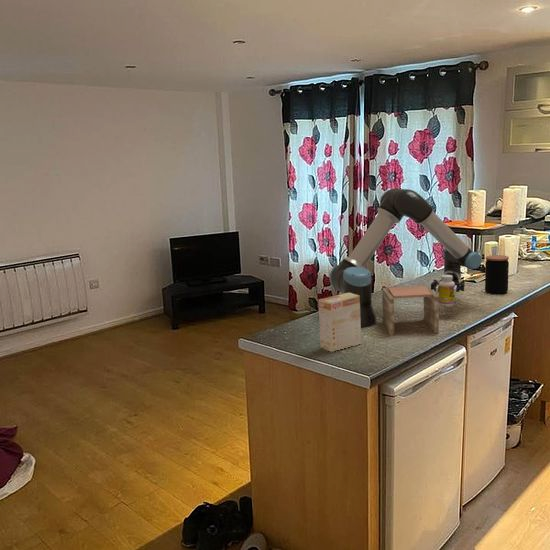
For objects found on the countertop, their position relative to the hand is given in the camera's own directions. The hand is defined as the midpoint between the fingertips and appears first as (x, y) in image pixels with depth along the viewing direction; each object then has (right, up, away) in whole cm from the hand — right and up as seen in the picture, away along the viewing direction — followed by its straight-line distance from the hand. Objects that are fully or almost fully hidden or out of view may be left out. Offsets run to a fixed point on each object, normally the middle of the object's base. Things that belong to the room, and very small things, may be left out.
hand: (445, 291), depth 234 cm
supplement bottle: (+2, -6, +6) cm, 9 cm away
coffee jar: (+38, -2, +41) cm, 56 cm away
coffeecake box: (-47, -21, -23) cm, 56 cm away
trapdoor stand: (-17, -15, -5) cm, 23 cm away
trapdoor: (-17, 0, -7) cm, 19 cm away
